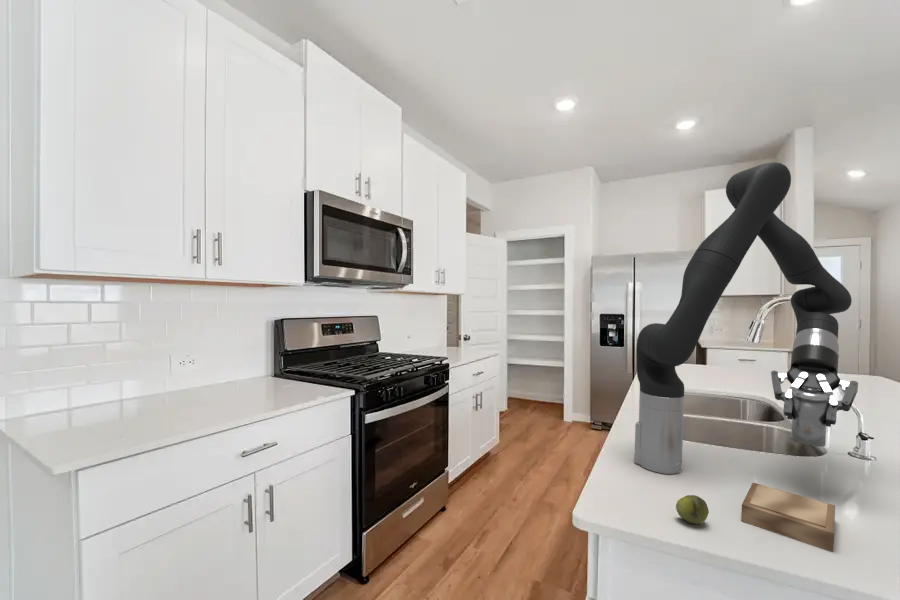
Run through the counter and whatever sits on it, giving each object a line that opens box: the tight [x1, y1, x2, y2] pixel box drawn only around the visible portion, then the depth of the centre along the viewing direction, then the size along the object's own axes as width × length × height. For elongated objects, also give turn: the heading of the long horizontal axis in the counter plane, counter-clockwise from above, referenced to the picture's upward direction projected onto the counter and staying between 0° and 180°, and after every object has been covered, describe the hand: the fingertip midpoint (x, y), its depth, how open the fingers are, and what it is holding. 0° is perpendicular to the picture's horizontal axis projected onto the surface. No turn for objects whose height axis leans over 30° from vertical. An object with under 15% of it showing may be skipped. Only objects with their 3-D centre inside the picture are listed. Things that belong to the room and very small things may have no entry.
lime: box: [675, 494, 710, 525], centre depth 72 cm, size 4×5×5 cm
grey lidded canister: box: [790, 387, 830, 448], centre depth 82 cm, size 6×6×11 cm
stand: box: [740, 482, 836, 553], centre depth 73 cm, size 12×12×3 cm
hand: (808, 420), depth 81 cm, fingers closed on grey lidded canister, 5 cm apart
